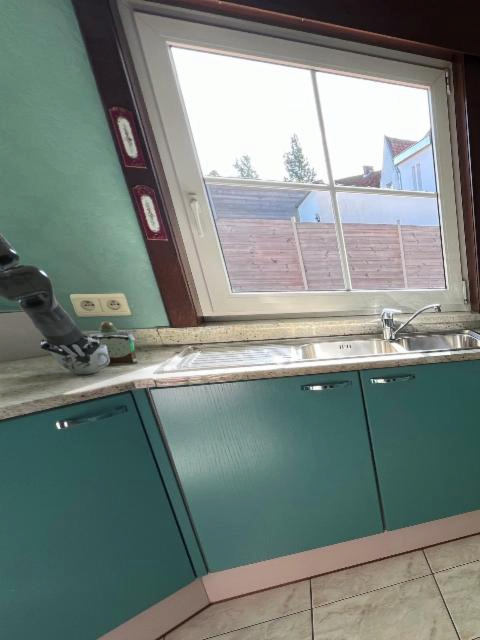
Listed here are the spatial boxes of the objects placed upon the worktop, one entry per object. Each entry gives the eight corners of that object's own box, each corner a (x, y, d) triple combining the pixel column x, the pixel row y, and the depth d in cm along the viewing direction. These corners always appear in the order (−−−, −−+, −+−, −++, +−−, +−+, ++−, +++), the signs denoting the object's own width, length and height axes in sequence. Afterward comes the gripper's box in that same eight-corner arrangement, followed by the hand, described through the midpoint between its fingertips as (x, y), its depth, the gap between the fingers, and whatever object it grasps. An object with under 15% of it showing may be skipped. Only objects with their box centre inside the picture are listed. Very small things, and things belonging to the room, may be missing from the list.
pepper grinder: (113, 357, 178) (102, 322, 173) (105, 356, 179) (93, 321, 174) (129, 355, 182) (118, 321, 177) (120, 354, 183) (109, 320, 179)
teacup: (47, 375, 151) (36, 349, 148) (89, 367, 162) (80, 343, 159) (93, 378, 150) (84, 352, 147) (132, 369, 161) (124, 345, 159)
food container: (151, 360, 175) (142, 332, 171) (139, 364, 169) (129, 334, 165) (111, 360, 173) (101, 331, 169) (97, 364, 167) (87, 334, 163)
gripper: (87, 312, 140) (113, 349, 154) (21, 314, 133) (54, 351, 147) (88, 334, 137) (115, 369, 151) (21, 336, 131) (55, 372, 145)
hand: (85, 360), depth 149 cm, fingers closed
